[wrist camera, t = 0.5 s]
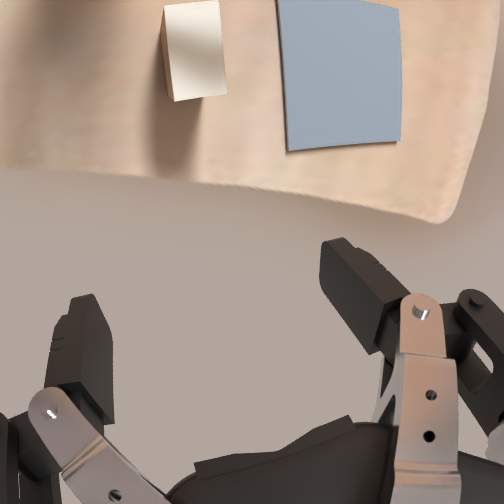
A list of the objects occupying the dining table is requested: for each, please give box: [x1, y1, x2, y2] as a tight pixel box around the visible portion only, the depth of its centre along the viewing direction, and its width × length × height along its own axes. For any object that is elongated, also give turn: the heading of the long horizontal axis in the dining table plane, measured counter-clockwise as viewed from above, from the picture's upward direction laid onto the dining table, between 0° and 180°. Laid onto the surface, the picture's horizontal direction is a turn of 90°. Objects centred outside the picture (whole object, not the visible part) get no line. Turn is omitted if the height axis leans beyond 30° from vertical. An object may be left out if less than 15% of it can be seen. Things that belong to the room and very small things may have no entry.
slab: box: [160, 1, 227, 102], centre depth 22 cm, size 7×4×10 cm, turn 5°
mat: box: [277, 0, 402, 151], centre depth 30 cm, size 18×16×1 cm
